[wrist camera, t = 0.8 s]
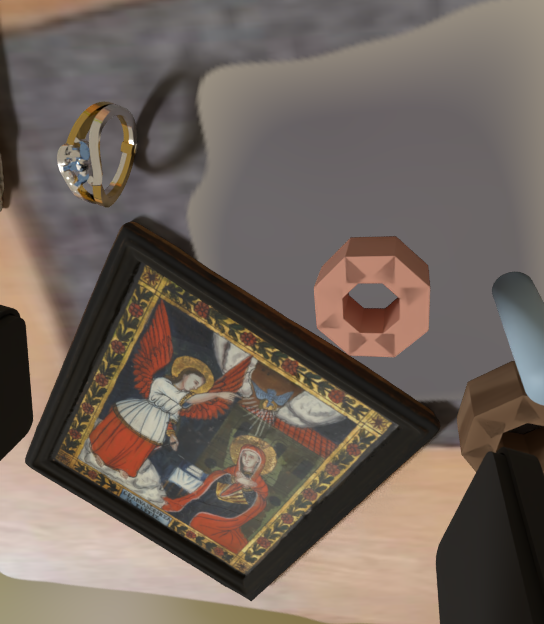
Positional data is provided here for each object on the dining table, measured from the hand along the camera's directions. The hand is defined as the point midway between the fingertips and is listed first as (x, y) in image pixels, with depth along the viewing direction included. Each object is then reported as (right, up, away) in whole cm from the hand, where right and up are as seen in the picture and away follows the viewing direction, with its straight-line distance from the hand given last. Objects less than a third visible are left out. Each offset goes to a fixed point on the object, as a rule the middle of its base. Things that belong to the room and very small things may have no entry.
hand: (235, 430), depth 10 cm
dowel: (+18, +4, +27) cm, 33 cm away
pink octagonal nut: (+9, +4, +29) cm, 31 cm away
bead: (+21, -6, +31) cm, 38 cm away
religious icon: (-6, -10, +42) cm, 44 cm away
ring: (-10, +15, +29) cm, 34 cm away
